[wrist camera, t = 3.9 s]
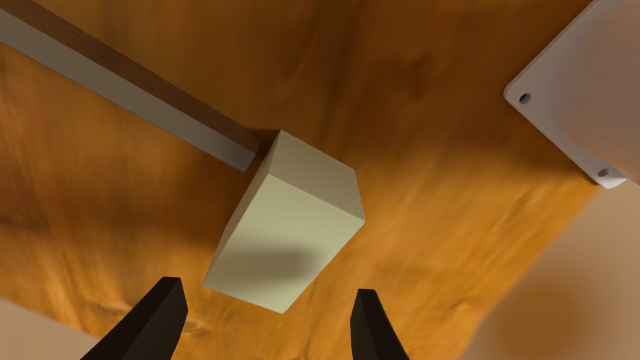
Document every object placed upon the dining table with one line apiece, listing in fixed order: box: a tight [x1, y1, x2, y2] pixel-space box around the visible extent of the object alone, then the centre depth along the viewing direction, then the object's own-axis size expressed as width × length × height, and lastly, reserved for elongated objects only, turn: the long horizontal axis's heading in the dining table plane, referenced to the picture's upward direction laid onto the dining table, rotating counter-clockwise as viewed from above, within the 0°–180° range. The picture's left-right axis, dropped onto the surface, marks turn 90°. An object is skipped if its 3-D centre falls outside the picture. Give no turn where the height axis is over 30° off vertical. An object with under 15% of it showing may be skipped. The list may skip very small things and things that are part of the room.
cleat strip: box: [0, 0, 263, 173], centre depth 12 cm, size 16×1×2 cm, turn 55°
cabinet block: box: [202, 130, 366, 314], centre depth 15 cm, size 4×8×4 cm, turn 149°
